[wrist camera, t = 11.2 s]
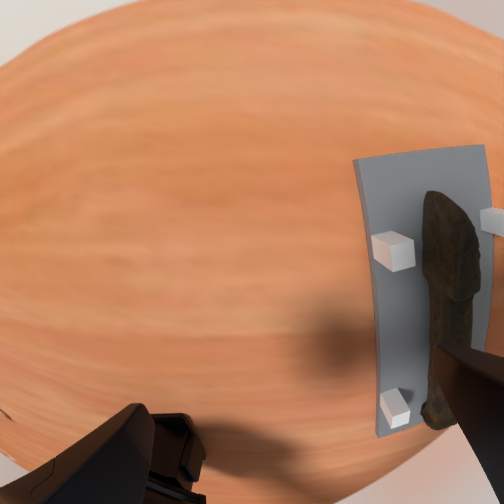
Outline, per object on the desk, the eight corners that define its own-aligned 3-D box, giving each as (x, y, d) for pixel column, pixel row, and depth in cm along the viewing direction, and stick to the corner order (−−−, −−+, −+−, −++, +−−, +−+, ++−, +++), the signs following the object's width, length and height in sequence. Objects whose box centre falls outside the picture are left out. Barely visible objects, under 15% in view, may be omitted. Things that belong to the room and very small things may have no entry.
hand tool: (451, 393, 21) (473, 423, 16) (415, 409, 21) (435, 443, 17) (452, 184, 17) (495, 188, 12) (407, 194, 17) (447, 200, 13)
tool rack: (375, 431, 23) (387, 460, 19) (352, 160, 18) (375, 155, 14) (468, 393, 22) (486, 415, 18) (476, 145, 17) (509, 142, 13)
